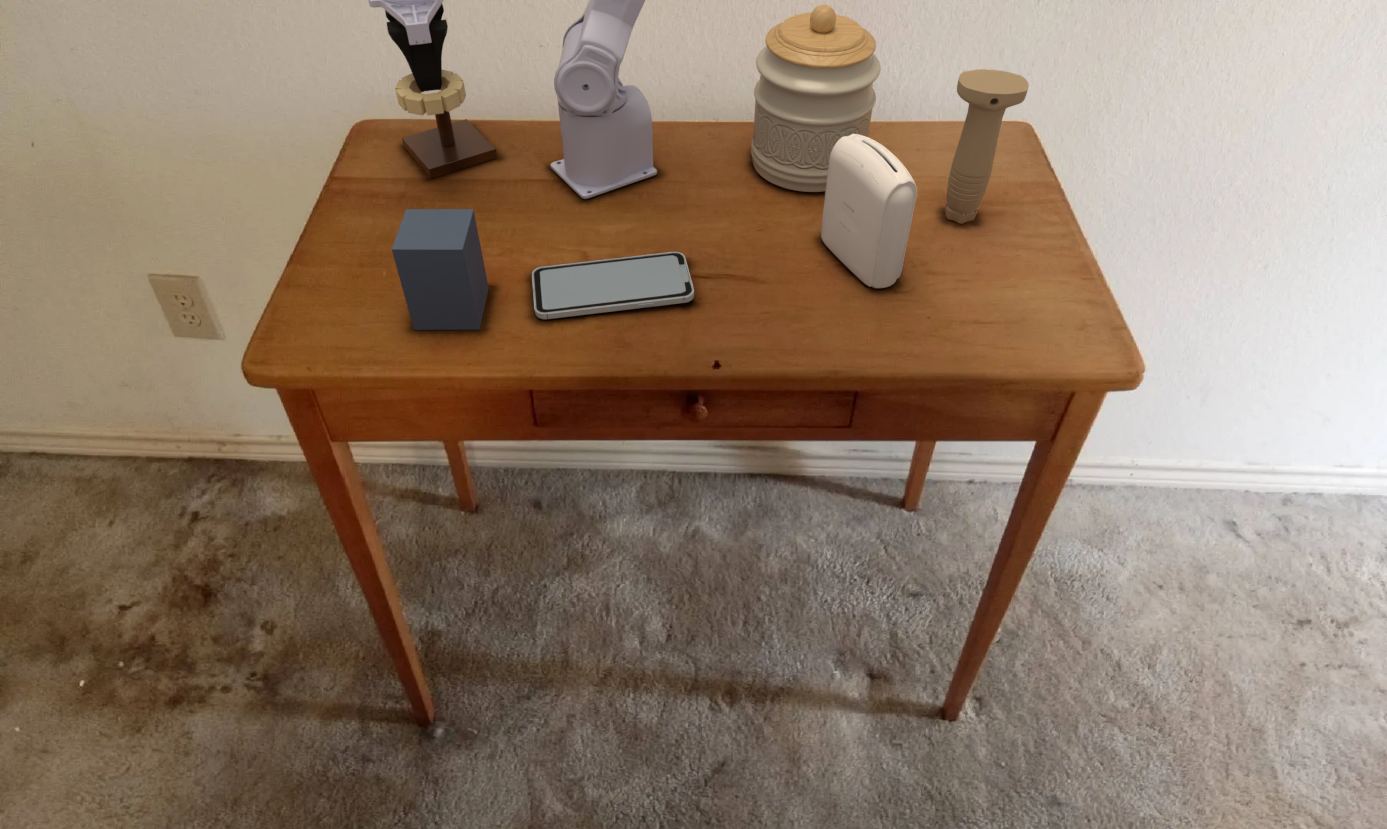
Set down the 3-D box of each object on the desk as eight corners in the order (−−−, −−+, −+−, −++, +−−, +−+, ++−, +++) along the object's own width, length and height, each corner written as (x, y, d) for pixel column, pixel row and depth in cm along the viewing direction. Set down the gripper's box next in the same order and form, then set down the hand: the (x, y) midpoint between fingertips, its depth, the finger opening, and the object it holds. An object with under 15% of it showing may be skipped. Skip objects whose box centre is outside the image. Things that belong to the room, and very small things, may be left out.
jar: (740, 186, 101) (748, 26, 88) (760, 128, 110) (770, -25, 97) (858, 202, 99) (884, 40, 86) (869, 141, 108) (894, -13, 95)
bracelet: (448, 77, 97) (446, 63, 96) (476, 103, 93) (473, 88, 92) (389, 94, 94) (385, 79, 93) (414, 122, 90) (411, 106, 89)
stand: (468, 128, 109) (459, 78, 105) (497, 158, 104) (488, 107, 100) (403, 147, 106) (391, 96, 101) (430, 178, 101) (419, 127, 97)
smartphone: (531, 267, 89) (683, 250, 91) (532, 275, 90) (683, 258, 91) (534, 315, 84) (695, 296, 86) (536, 323, 85) (696, 304, 86)
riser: (489, 288, 88) (473, 208, 82) (479, 330, 84) (462, 249, 77) (426, 288, 88) (405, 208, 82) (413, 330, 84) (391, 249, 77)
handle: (992, 231, 95) (1031, 95, 84) (929, 227, 96) (961, 91, 85) (987, 205, 99) (1025, 71, 88) (927, 201, 99) (956, 67, 88)
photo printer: (813, 238, 94) (826, 127, 85) (848, 227, 96) (865, 117, 87) (868, 295, 88) (889, 182, 79) (905, 283, 89) (930, 171, 80)
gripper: (353, -80, 89) (385, 57, 99) (358, -23, 79) (394, 122, 89) (427, -86, 90) (452, 49, 100) (441, -31, 81) (467, 113, 91)
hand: (429, 83), depth 95 cm, fingers closed on bracelet, 2 cm apart
